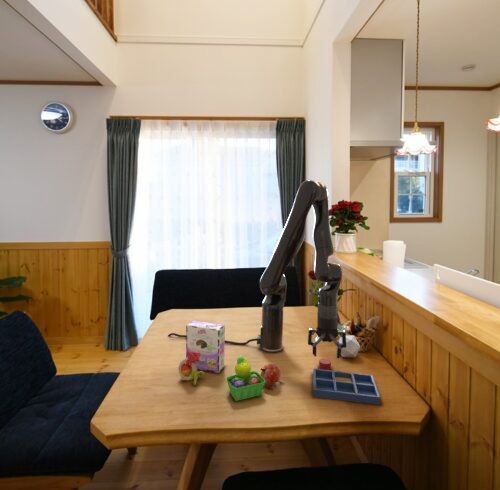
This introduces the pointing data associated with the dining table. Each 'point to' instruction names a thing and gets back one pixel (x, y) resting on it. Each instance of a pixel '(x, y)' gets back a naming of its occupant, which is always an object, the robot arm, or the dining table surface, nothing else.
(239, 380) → the fruit basket
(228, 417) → the dining table surface
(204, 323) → the candy box
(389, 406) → the dining table surface
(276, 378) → the pomegranate
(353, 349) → the die
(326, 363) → the short red cylinder
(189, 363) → the bird rattle
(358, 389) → the grid
